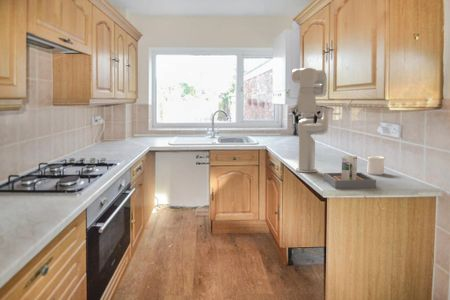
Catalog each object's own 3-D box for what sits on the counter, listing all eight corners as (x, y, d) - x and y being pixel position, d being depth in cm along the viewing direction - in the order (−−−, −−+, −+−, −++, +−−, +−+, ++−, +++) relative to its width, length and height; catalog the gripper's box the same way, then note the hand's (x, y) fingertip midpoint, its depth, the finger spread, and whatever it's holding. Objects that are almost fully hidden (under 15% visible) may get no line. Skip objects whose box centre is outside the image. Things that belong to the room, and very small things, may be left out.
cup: (370, 175, 234) (370, 158, 232) (363, 172, 244) (364, 155, 242) (386, 175, 234) (387, 158, 233) (379, 171, 244) (380, 155, 243)
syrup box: (340, 183, 210) (341, 156, 209) (346, 182, 215) (347, 154, 213) (350, 185, 206) (351, 157, 205) (356, 183, 210) (357, 155, 209)
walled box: (324, 180, 220) (324, 172, 219) (360, 179, 220) (361, 172, 220) (335, 188, 200) (335, 180, 199) (375, 187, 201) (375, 179, 200)
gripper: (320, 91, 223) (319, 122, 226) (289, 91, 223) (288, 123, 225) (324, 91, 216) (323, 123, 218) (291, 91, 215) (291, 123, 218)
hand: (305, 123), depth 222 cm, fingers open, 9 cm apart
